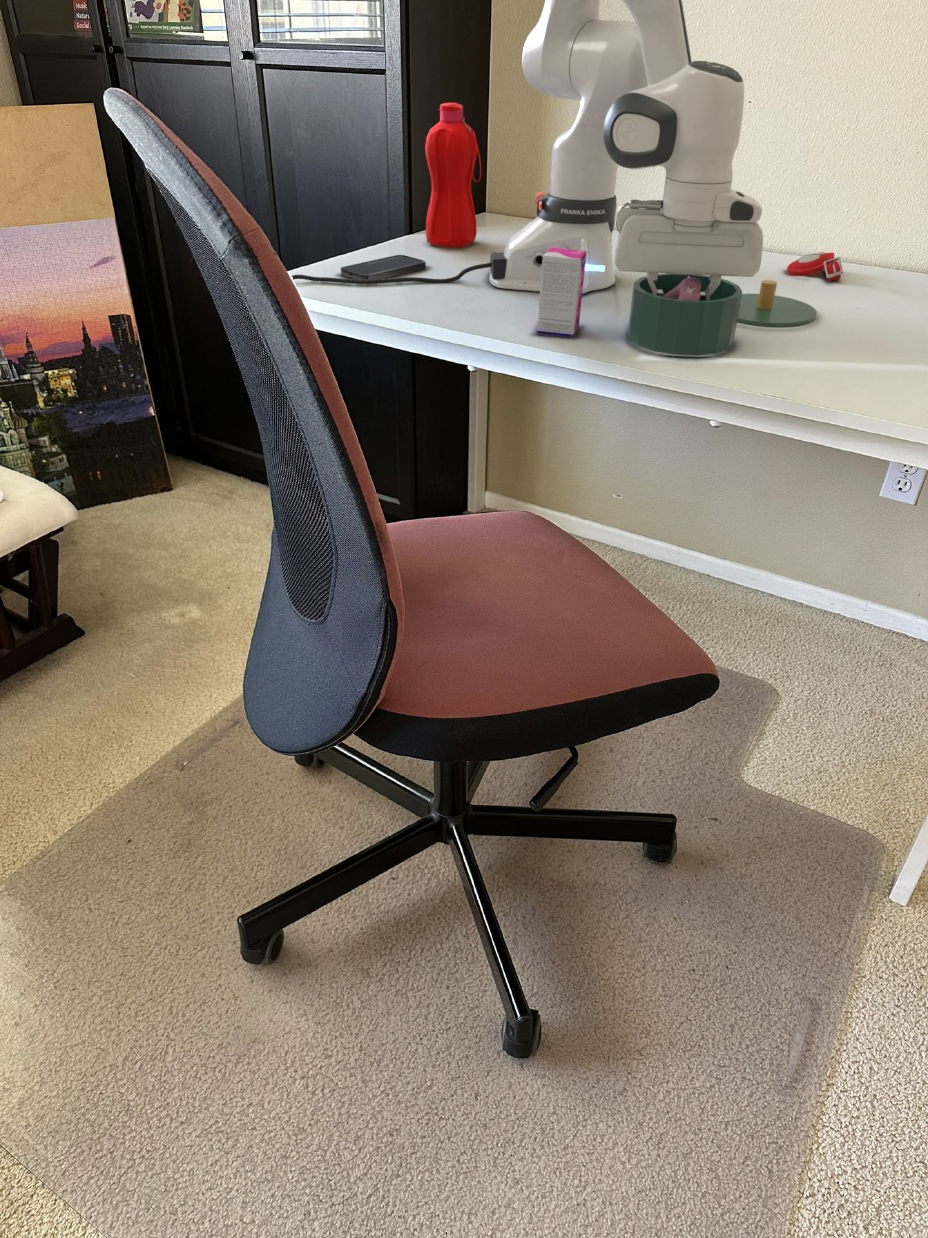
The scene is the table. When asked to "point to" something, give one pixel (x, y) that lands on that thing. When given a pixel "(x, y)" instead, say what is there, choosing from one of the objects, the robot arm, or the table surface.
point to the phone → (383, 267)
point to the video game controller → (686, 290)
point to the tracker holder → (817, 266)
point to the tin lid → (773, 309)
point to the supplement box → (561, 292)
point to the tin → (683, 317)
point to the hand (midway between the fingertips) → (679, 304)
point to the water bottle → (451, 179)
